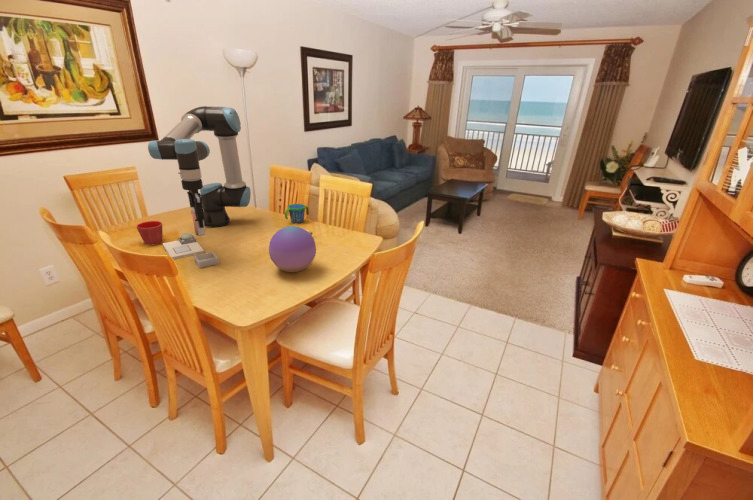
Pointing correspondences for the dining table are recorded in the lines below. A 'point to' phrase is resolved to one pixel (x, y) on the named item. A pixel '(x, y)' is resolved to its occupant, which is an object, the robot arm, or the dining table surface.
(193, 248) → the board
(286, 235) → the ball
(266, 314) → the dining table surface
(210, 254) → the tray
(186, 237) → the button
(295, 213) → the snack cup
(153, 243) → the flower pot
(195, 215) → the tumbler
